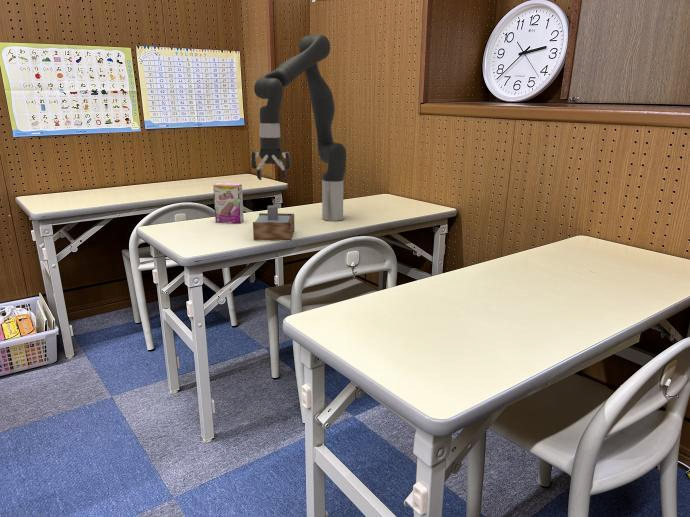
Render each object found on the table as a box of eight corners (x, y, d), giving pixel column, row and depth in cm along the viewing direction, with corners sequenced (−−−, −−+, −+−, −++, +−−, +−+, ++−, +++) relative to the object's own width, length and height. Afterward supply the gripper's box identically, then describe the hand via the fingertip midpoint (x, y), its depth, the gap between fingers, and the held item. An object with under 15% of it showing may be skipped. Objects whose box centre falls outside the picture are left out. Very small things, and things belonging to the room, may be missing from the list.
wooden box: (294, 230, 203) (294, 213, 200) (290, 240, 188) (290, 222, 186) (260, 230, 203) (259, 213, 200) (253, 240, 188) (252, 222, 186)
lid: (290, 218, 200) (290, 203, 198) (287, 225, 188) (286, 210, 186) (259, 217, 200) (259, 202, 198) (254, 225, 188) (253, 209, 186)
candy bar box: (215, 223, 213) (212, 184, 207) (219, 220, 217) (216, 182, 212) (240, 224, 212) (238, 185, 206) (244, 221, 216) (242, 183, 211)
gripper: (290, 135, 187) (291, 178, 192) (252, 134, 187) (254, 178, 192) (288, 137, 180) (289, 181, 185) (248, 136, 180) (250, 181, 185)
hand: (271, 179), depth 189 cm, fingers open, 8 cm apart
